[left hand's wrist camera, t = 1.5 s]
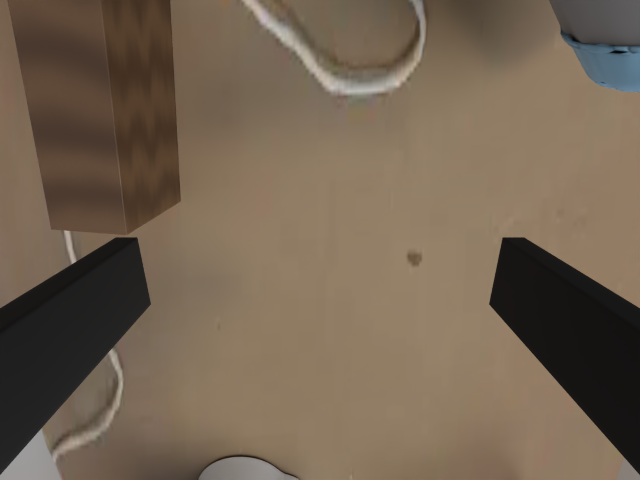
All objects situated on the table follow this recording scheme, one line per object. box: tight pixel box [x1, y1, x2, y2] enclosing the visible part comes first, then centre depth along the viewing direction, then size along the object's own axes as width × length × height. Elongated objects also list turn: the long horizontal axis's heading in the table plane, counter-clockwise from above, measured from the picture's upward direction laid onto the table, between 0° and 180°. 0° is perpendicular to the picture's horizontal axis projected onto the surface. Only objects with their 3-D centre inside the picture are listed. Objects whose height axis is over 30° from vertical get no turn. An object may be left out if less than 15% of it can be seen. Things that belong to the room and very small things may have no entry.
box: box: [8, 0, 180, 235], centre depth 29 cm, size 26×6×12 cm, turn 175°
